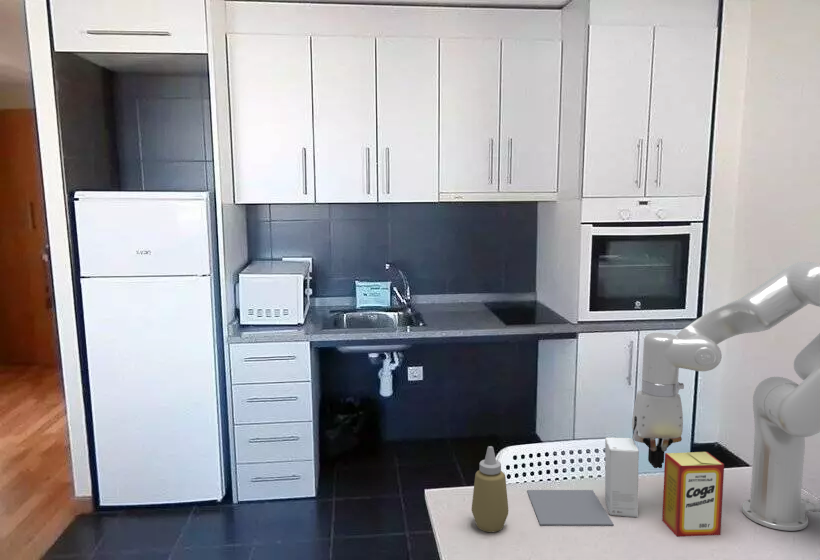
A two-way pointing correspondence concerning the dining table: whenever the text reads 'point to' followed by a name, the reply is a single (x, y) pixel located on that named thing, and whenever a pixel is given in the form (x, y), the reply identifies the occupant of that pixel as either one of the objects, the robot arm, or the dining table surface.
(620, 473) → the skincare box
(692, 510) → the baking soda box
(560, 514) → the mat
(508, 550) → the dining table surface
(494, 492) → the squeeze bottle
